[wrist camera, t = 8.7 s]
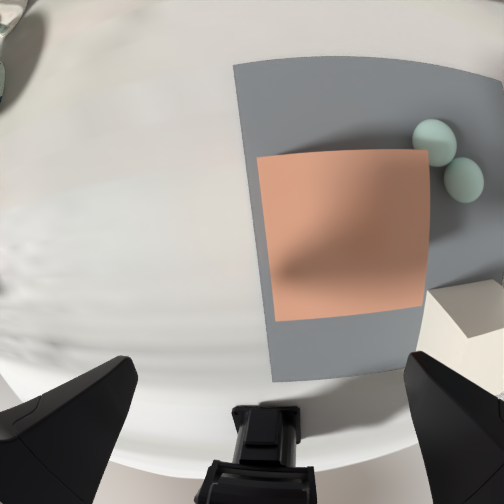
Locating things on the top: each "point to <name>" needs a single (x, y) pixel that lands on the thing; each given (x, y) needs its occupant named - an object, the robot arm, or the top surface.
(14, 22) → the beer glass
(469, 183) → the marble
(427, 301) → the ivory rectangular chunk
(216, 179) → the top surface
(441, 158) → the marble
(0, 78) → the food container
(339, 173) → the salmon pink cube
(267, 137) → the mat
